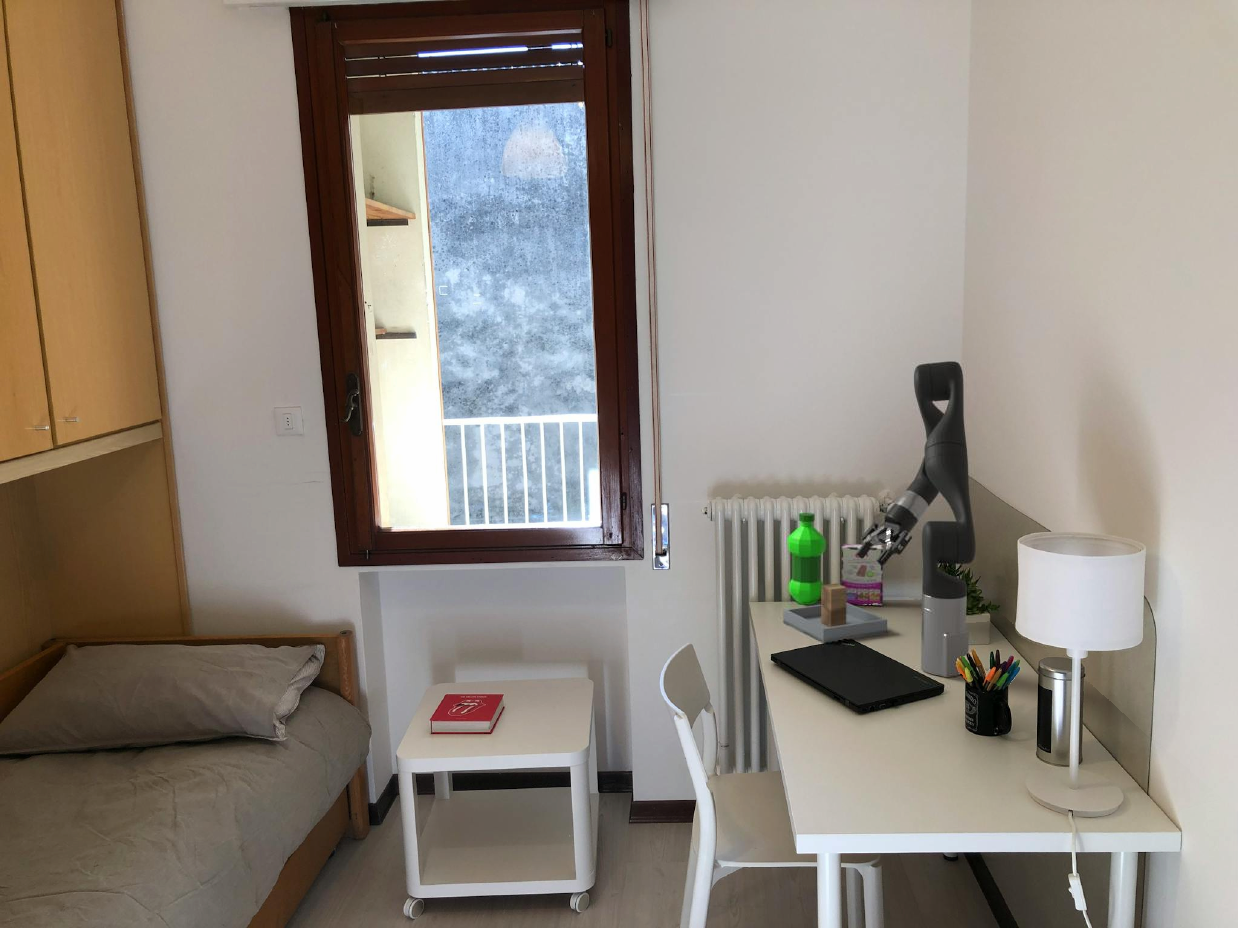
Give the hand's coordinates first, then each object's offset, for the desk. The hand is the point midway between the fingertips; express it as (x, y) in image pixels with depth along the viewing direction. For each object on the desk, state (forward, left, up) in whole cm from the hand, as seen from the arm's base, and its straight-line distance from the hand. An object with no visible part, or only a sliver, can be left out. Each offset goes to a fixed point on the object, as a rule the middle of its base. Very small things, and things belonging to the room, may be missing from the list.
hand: (869, 559), depth 241 cm
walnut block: (0, +10, -16) cm, 19 cm away
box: (0, +10, -17) cm, 20 cm away
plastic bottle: (+24, +3, -17) cm, 30 cm away
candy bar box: (+16, -10, -17) cm, 25 cm away
